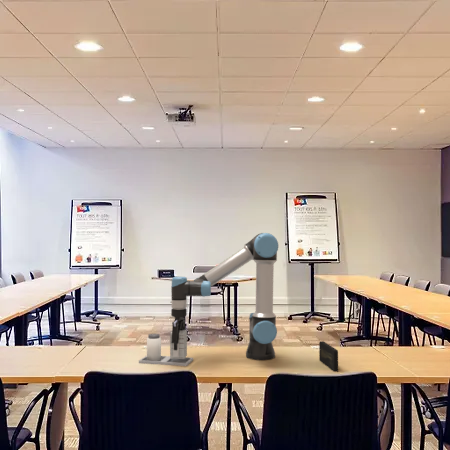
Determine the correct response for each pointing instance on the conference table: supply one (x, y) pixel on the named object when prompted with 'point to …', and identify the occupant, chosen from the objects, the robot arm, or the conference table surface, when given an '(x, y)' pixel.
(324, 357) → the nameplate
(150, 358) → the bottle
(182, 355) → the supplement box
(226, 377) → the conference table surface
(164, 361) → the grey divided tray
